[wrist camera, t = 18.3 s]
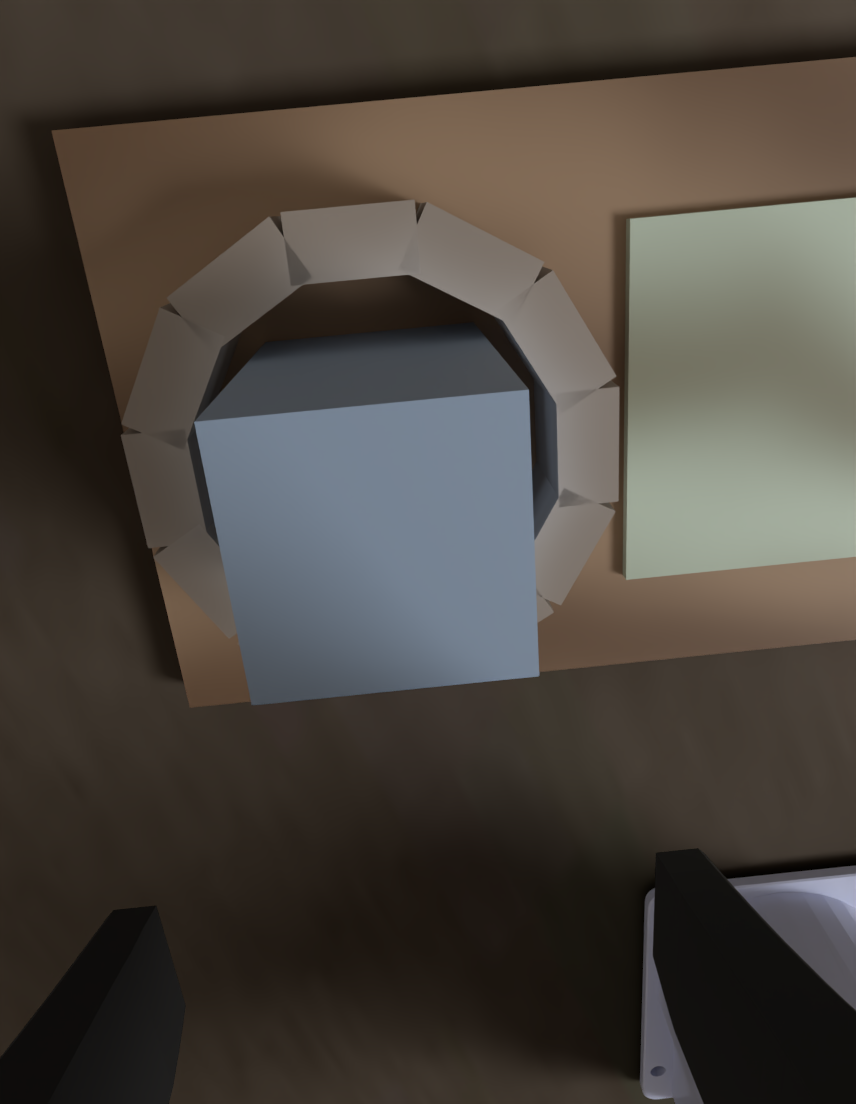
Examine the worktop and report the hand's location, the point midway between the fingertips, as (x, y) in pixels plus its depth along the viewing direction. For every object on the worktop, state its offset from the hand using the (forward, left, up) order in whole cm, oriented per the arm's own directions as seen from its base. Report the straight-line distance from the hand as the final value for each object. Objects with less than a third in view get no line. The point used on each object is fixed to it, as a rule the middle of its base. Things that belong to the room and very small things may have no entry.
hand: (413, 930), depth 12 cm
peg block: (+5, 0, -9) cm, 10 cm away
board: (+5, -5, -10) cm, 12 cm away
